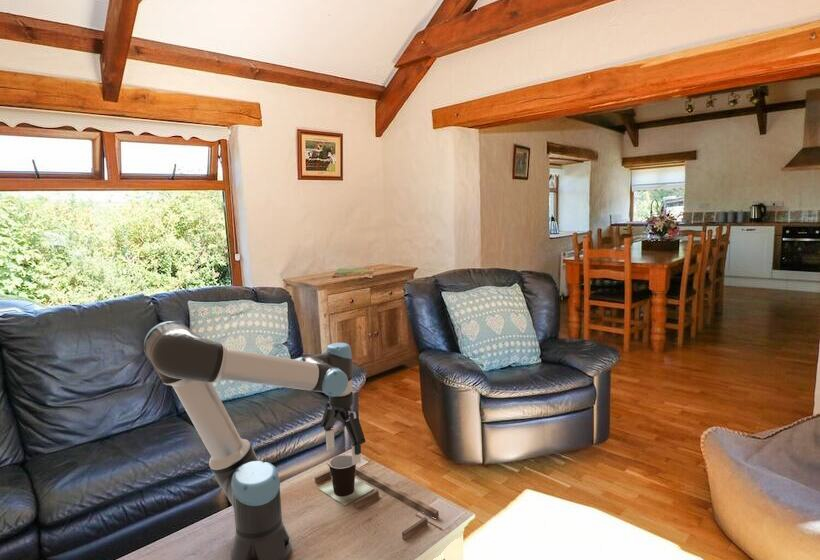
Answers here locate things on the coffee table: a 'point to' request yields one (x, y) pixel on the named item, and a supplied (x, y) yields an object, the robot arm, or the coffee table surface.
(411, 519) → the coffee table surface
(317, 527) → the coffee table surface
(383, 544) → the coffee table surface
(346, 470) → the coffee mug
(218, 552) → the coffee table surface
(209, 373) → the robot arm
